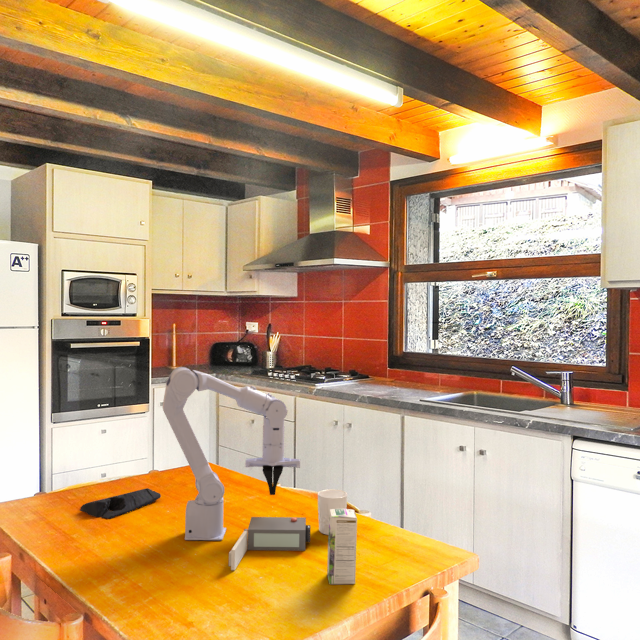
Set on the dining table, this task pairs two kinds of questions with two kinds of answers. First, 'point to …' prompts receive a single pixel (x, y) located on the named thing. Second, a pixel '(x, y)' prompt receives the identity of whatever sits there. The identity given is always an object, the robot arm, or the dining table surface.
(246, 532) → the side door
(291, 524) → the camera housing
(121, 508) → the folded black cloth
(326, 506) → the white cup
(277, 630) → the dining table surface
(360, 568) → the dining table surface
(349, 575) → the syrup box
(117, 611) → the dining table surface
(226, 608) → the dining table surface
